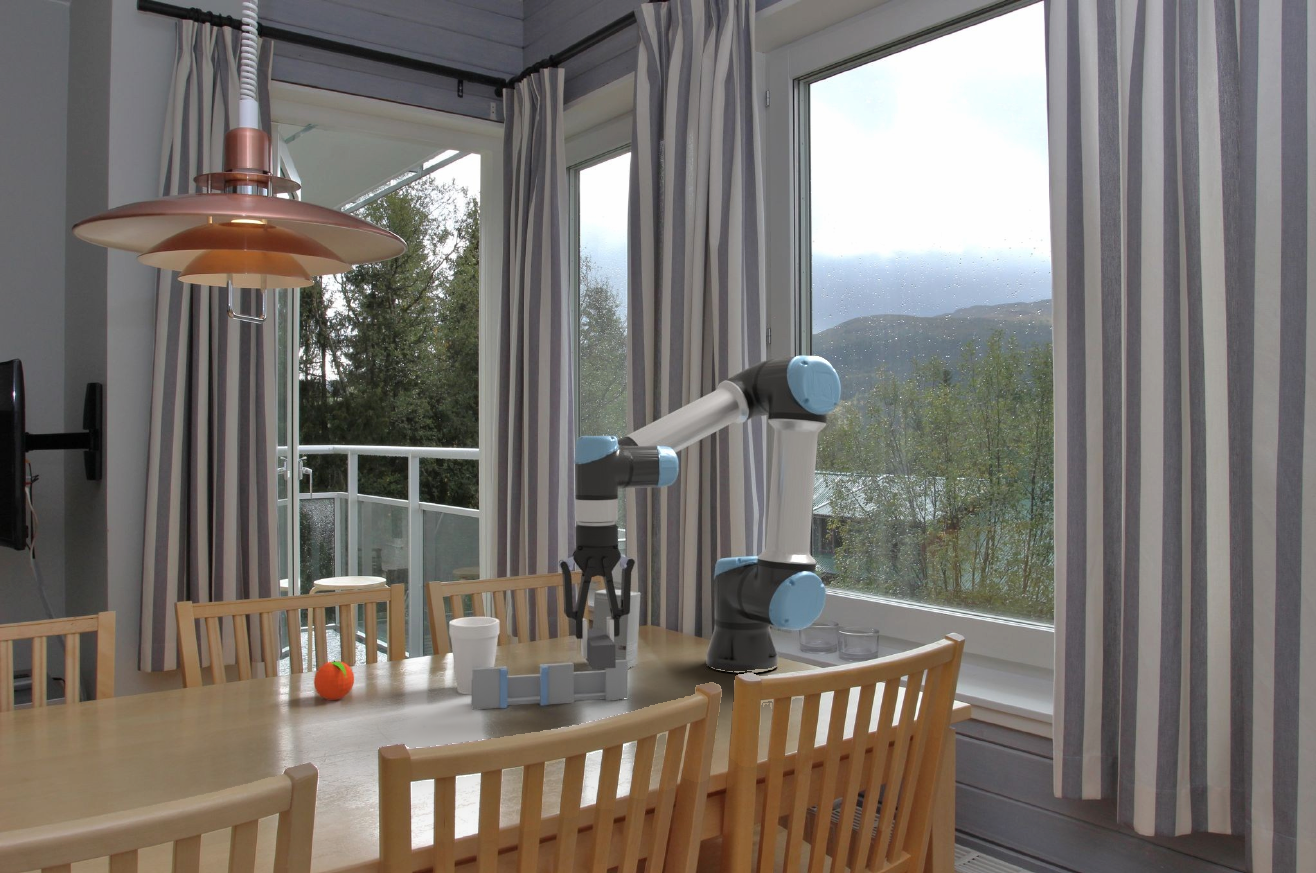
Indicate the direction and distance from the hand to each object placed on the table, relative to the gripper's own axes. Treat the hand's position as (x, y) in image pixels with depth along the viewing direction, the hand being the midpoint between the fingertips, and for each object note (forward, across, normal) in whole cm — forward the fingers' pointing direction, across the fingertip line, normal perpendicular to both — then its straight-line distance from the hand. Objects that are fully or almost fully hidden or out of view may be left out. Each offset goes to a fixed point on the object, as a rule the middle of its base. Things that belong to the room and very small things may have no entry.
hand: (597, 655), depth 165 cm
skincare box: (+10, -10, -31) cm, 34 cm away
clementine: (+10, +45, -18) cm, 50 cm away
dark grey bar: (+1, 0, 0) cm, 1 cm away
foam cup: (+10, +20, -19) cm, 29 cm away
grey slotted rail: (+10, +7, -8) cm, 14 cm away
